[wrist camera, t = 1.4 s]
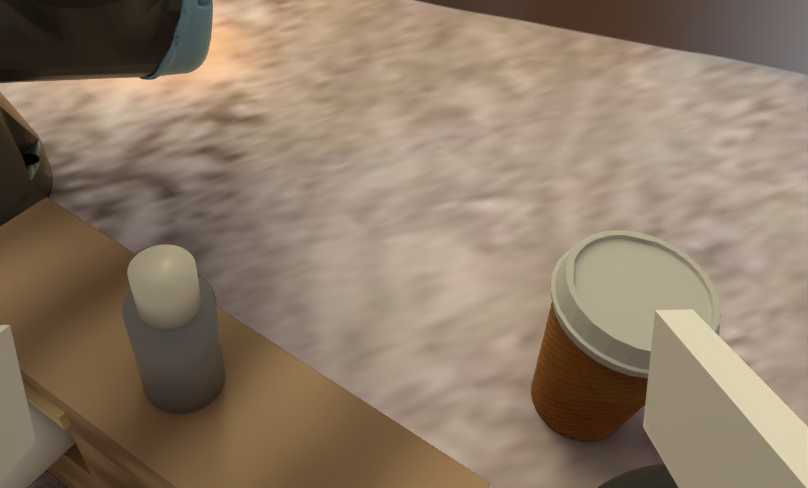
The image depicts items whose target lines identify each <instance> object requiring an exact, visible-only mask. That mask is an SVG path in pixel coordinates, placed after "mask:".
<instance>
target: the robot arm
mask: <svg viewBox="0 0 808 488" xmlns="http://www.w3.org/2000/svg"><path fill="white" fill-rule="evenodd" d="M212 18H213V4H212V0H0V83H11V82H34V81H57V80H80V79H103V78H132V77H139V78H141V79H147V80H151V79H156V78H157V77H159V76H163V75H174V74H184V73H189V72H192V71H194V70H196V69H197V68H199V67H200V66H201V65H202V63H203V62H204V60H205V59H206V56H207V54H208V50H209V46H210V40H211V31H212ZM51 182H52V172H51V167H50V164H49V161H48V158H47V155H46V152H45V149H44V147H43V144H42V142H41V140H40V139H39V137H38V135H37V134H36V133H35V131H34V130H33V129H32V128H31V127H30V125H29V124H28V123H27V122H26V121H25V120H24V119H23V117H22V116H21V115H20V114H19V113H18V112H17V110H16V109H15V108H14V107H13V106H12V105H11V104H10V102H9V101H8V100H7V99H6V98H5V97H4V96H3V94H2V93H1V92H0V226H2V225H3V224H5V223H7V222H8V221H10V220H11V219H13V218H14V217H16V216H18V215H19V214H21V213H22V212H24V211H26V210H27V209H29V208H30V207H32V206H33V205H35V204H37V203H38V202H40V201H41V200H43V199H44V198H46V197H47V196H48V194H49V191H50V188H51ZM643 428H644V430H645V431H646V433H647V435H648V436H649V438H650V440H651V442H652V443H653V445H654V447H655V448H656V450H657V452H658V453H659V455H660V457H661V459H662V460H663V462H664V464H665V465H666V467H667V469H668V471H669V472H670V474H671V476H672V477H673V479H674V481H675V482H676V484H677V486H678V488H808V427H807V426H806V425H805V424H804V423H803V422H802V421H801V420H800V419H799V418H798V417H797V416H796V415H795V413H794V412H793V411H792V410H791V409H790V408H789V407H788V406H787V405H786V404H785V403H784V402H783V401H782V400H781V399H780V398H779V397H778V396H777V395H776V394H775V393H774V392H773V391H772V390H771V389H770V388H769V387H768V386H767V385H766V384H765V383H764V382H763V381H762V380H761V379H760V378H759V377H758V376H757V375H756V374H755V373H754V372H753V371H752V370H751V369H750V367H749V366H748V365H747V364H746V363H745V362H744V361H743V360H742V359H741V358H740V357H739V356H738V355H737V354H736V353H735V352H734V351H733V350H732V349H731V348H730V347H729V346H728V345H727V344H726V343H725V342H724V341H723V340H722V339H721V338H720V337H719V336H718V335H717V334H716V333H715V332H714V331H713V330H712V329H711V328H710V327H709V326H708V325H707V324H706V323H705V322H704V320H703V319H702V318H701V317H700V316H699V315H698V314H697V313H696V312H695V311H694V310H693V309H688V310H655V316H654V326H653V335H652V345H651V355H650V364H649V374H648V383H647V393H646V403H645V412H644V422H643ZM35 441H36V440H35V435H34V431H33V426H32V422H31V417H30V413H29V408H28V404H27V399H26V395H25V390H24V386H23V381H22V376H21V372H20V367H19V363H18V358H17V354H16V349H15V345H14V340H13V336H12V331H11V327H10V325H0V483H1V482H2V481H3V480H4V478H5V477H6V476H7V475H8V474H9V472H10V471H11V470H12V469H13V468H14V466H15V465H16V464H17V463H18V462H19V460H20V459H21V458H22V457H23V456H24V454H25V453H26V452H27V451H28V450H29V448H30V447H31V446H32V445H33V444H34V442H35Z"/></svg>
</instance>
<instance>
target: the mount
mask: <svg viewBox="0 0 808 488" xmlns="http://www.w3.org/2000/svg"><path fill="white" fill-rule="evenodd" d="M135 256H136V254H134V253H133V252H131V251H130V250H128V249H127V248H125V247H124V246H122V245H120V244H119V243H117V242H116V241H114V240H113V239H111V238H110V237H108V236H106V235H105V234H103V233H102V232H100V231H99V230H97V229H96V228H94V227H93V226H91V225H89V224H88V223H86V222H85V221H83V220H82V219H80V218H79V217H77V216H75V215H74V214H72V213H71V212H69V211H68V210H66V209H65V208H63V207H61V206H60V205H58V204H57V203H55V202H54V201H52V200H51V199H49V198H48V197H46V198H44V199H43V200H41V201H40V202H38V203H37V204H35V205H33V206H32V207H30V208H29V209H27V210H26V211H24V212H22V213H21V214H19V215H18V216H16V217H14V218H13V219H11V220H10V221H8V222H7V223H5V224H3V225H2V226H0V325H10V327H11V331H12V336H13V340H14V345H15V349H16V354H17V358H18V363H19V367H20V372H21V376H22V381H23V386H24V390H25V395H26V399H27V401H28V402H30V403H31V404H32V405H34V406H35V407H36V408H38V409H39V410H40V411H41V412H43V413H44V414H45V415H47V416H48V417H49V418H50V419H52V420H53V421H54V422H56V423H57V424H58V425H59V426H61V427H62V428H63V429H66V428H68V429H69V430H70V432H71V434H72V436H73V438H74V440H75V442H76V443H75V444H74V445H73V446H72V447H71V448H70V449H68V450H67V451H66V452H65V453H64V454H63V455H62V456H61V457H60V458H59V459H58V460H56V461H55V462H54V463H53V464H52V465H51V466H50V467H49V468H48V469H47V470H46V471H48V472H49V473H50V474H51V475H53V476H54V477H55V478H56V479H58V480H59V481H60V482H61V483H63V484H64V485H65V486H66V487H68V488H488V486H489V484H490V482H488V481H487V480H485V479H483V478H482V477H480V476H479V475H477V474H476V473H474V472H473V471H471V470H469V469H468V468H466V467H465V466H463V465H462V464H460V463H459V462H457V461H455V460H454V459H452V458H451V457H449V456H448V455H446V454H445V453H443V452H442V451H440V450H438V449H437V448H435V447H434V446H432V445H431V444H429V443H428V442H426V441H424V440H423V439H421V438H420V437H418V436H417V435H415V434H414V433H412V432H411V431H409V430H407V429H406V428H404V427H403V426H401V425H400V424H398V423H397V422H395V421H393V420H392V419H390V418H389V417H387V416H386V415H384V414H383V413H381V412H379V411H378V410H376V409H375V408H373V407H372V406H370V405H369V404H367V403H366V402H364V401H362V400H361V399H359V398H358V397H356V396H355V395H353V394H352V393H350V392H348V391H347V390H345V389H344V388H342V387H341V386H339V385H338V384H336V383H335V382H333V381H331V380H330V379H328V378H327V377H325V376H324V375H322V374H321V373H319V372H317V371H316V370H314V369H313V368H311V367H310V366H308V365H307V364H305V363H303V362H302V361H300V360H299V359H297V358H296V357H294V356H293V355H291V354H290V353H288V352H286V351H285V350H283V349H282V348H280V347H279V346H277V345H276V344H274V343H272V342H271V341H269V340H268V339H266V338H265V337H263V336H262V335H260V334H258V333H257V332H255V331H254V330H252V329H251V328H249V327H248V326H246V325H245V324H243V323H241V322H240V321H238V320H237V319H235V318H234V317H232V316H231V315H229V314H227V313H226V312H224V311H223V310H221V309H220V308H218V307H217V314H218V322H219V330H220V338H221V345H222V353H223V361H224V369H225V382H224V385H223V388H222V390H221V392H220V393H219V395H218V396H217V397H216V398H215V400H213V401H212V402H211V403H210V404H209V405H207V406H206V407H204V408H202V409H200V410H198V411H195V412H191V413H186V414H172V413H168V412H164V411H162V410H160V409H158V408H156V407H155V406H154V405H153V404H152V403H151V402H150V401H149V400H148V398H147V396H146V394H145V391H144V388H143V384H142V381H141V377H140V374H139V371H138V367H137V364H136V361H135V357H134V354H133V350H132V347H131V344H130V340H129V337H128V334H127V330H126V327H125V323H124V320H123V316H122V306H123V302H124V299H125V297H126V295H127V294H128V292H129V291H130V290H131V287H130V283H129V279H128V275H127V271H128V266H129V264H130V262H131V261H132V259H133V258H134V257H135Z"/></svg>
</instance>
